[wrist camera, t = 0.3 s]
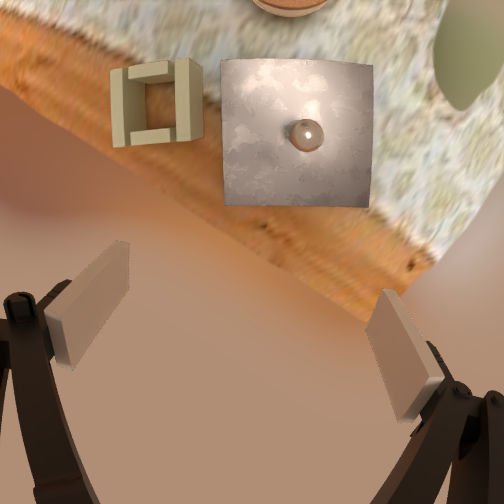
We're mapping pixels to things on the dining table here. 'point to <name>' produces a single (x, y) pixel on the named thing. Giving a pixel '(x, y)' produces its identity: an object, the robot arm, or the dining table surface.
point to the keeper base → (269, 146)
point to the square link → (134, 102)
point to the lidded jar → (290, 6)
